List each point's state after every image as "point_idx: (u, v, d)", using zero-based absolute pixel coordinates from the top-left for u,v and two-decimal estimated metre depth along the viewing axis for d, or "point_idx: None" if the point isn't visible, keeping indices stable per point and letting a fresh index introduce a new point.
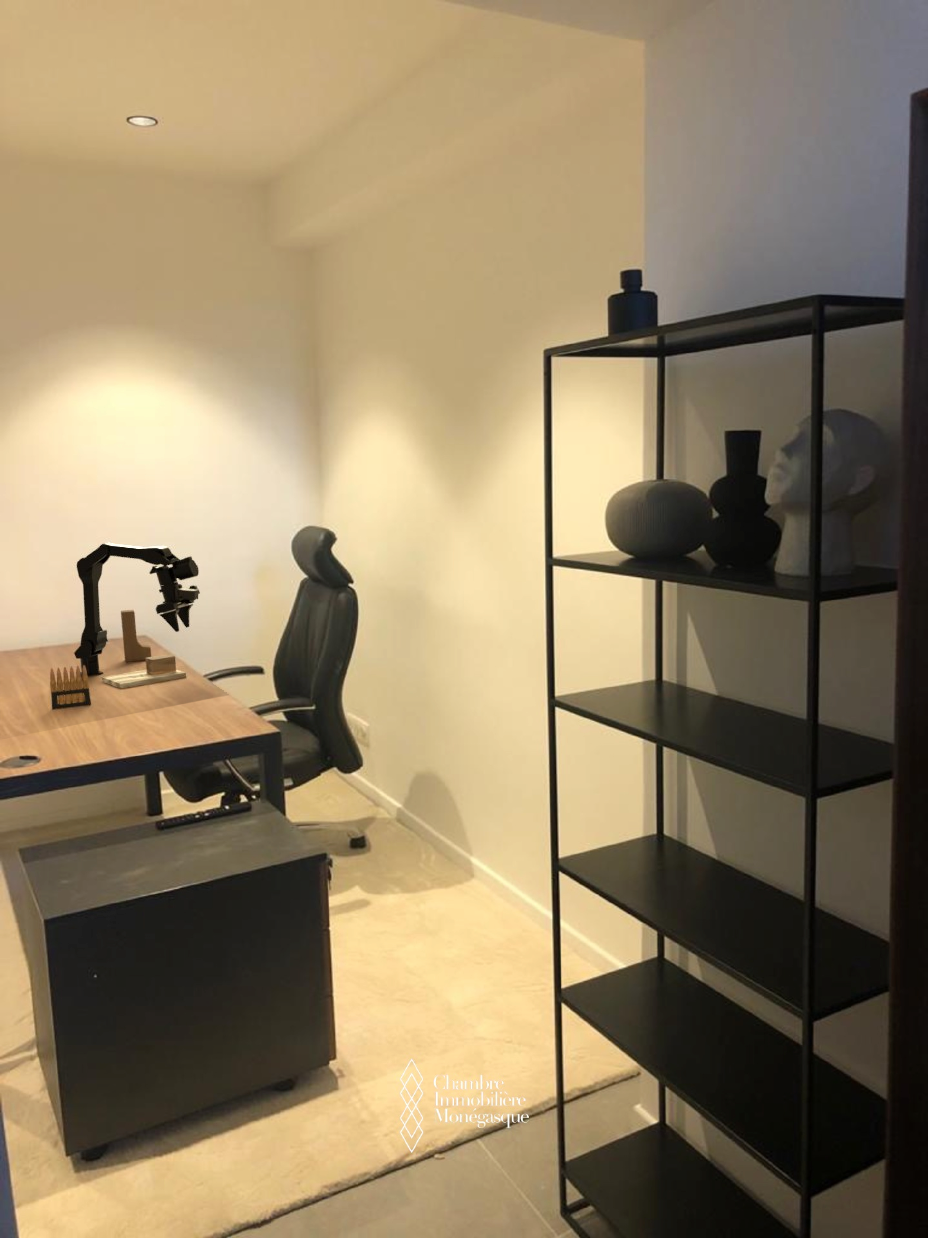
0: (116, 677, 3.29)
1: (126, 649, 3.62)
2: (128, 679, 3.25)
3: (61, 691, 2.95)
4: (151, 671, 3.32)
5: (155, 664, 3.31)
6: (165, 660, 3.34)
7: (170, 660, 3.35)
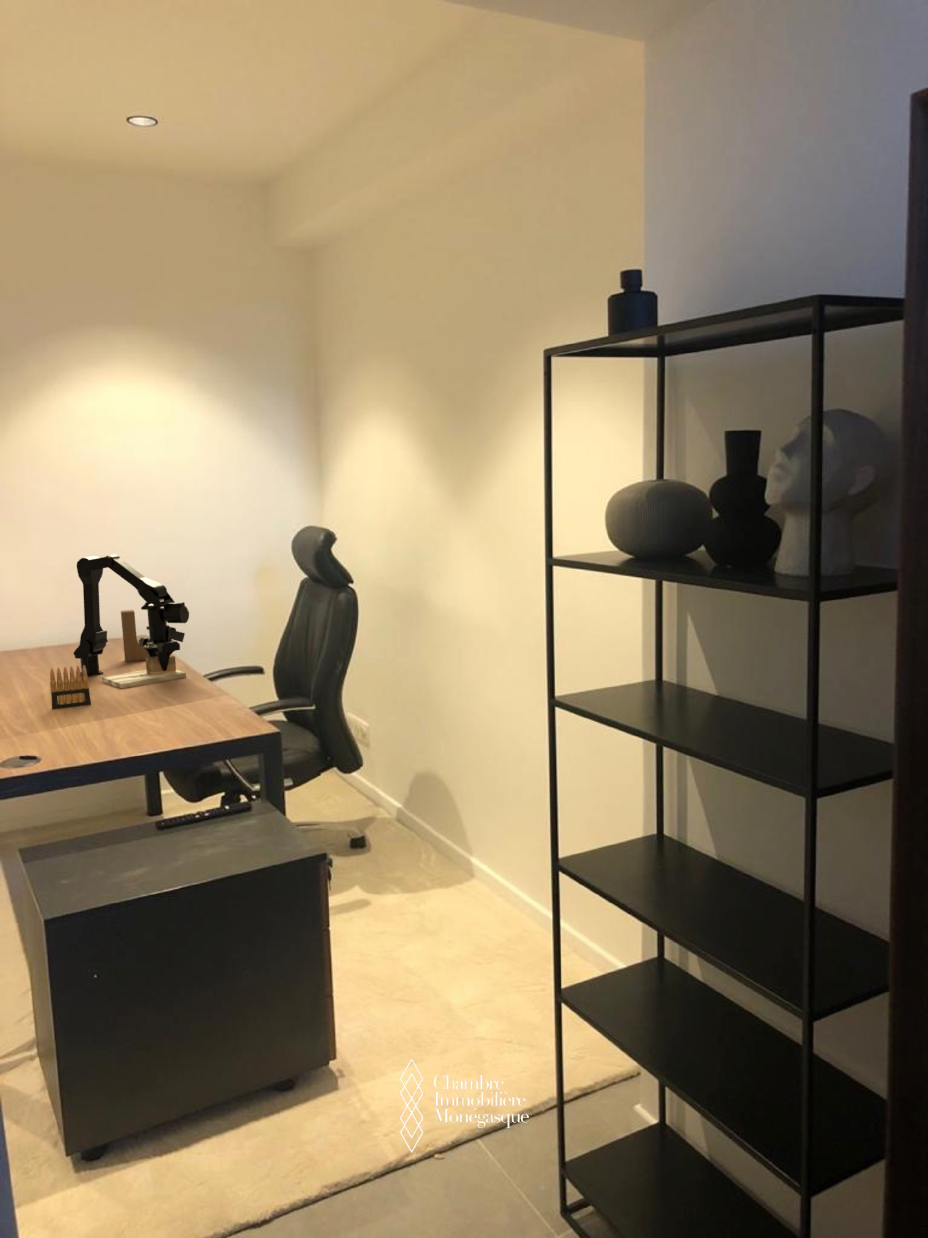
0: (116, 677, 3.29)
1: (126, 649, 3.62)
2: (128, 679, 3.25)
3: (61, 691, 2.95)
4: (151, 671, 3.32)
5: (155, 664, 3.31)
6: None
7: (170, 660, 3.35)
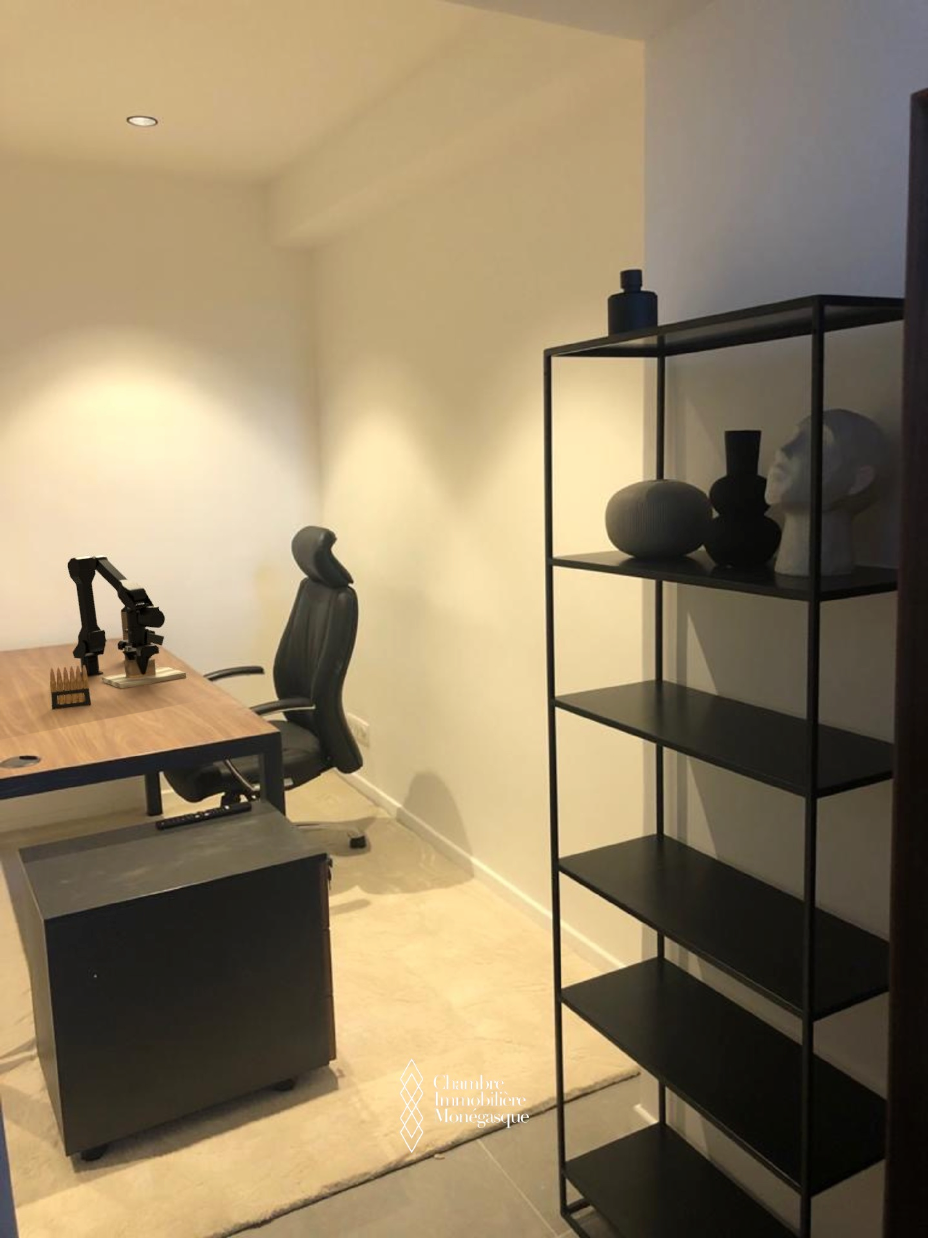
0: (116, 677, 3.29)
1: None
2: (128, 679, 3.25)
3: (61, 691, 2.95)
4: (130, 674, 3.27)
5: (134, 667, 3.27)
6: None
7: (149, 663, 3.30)
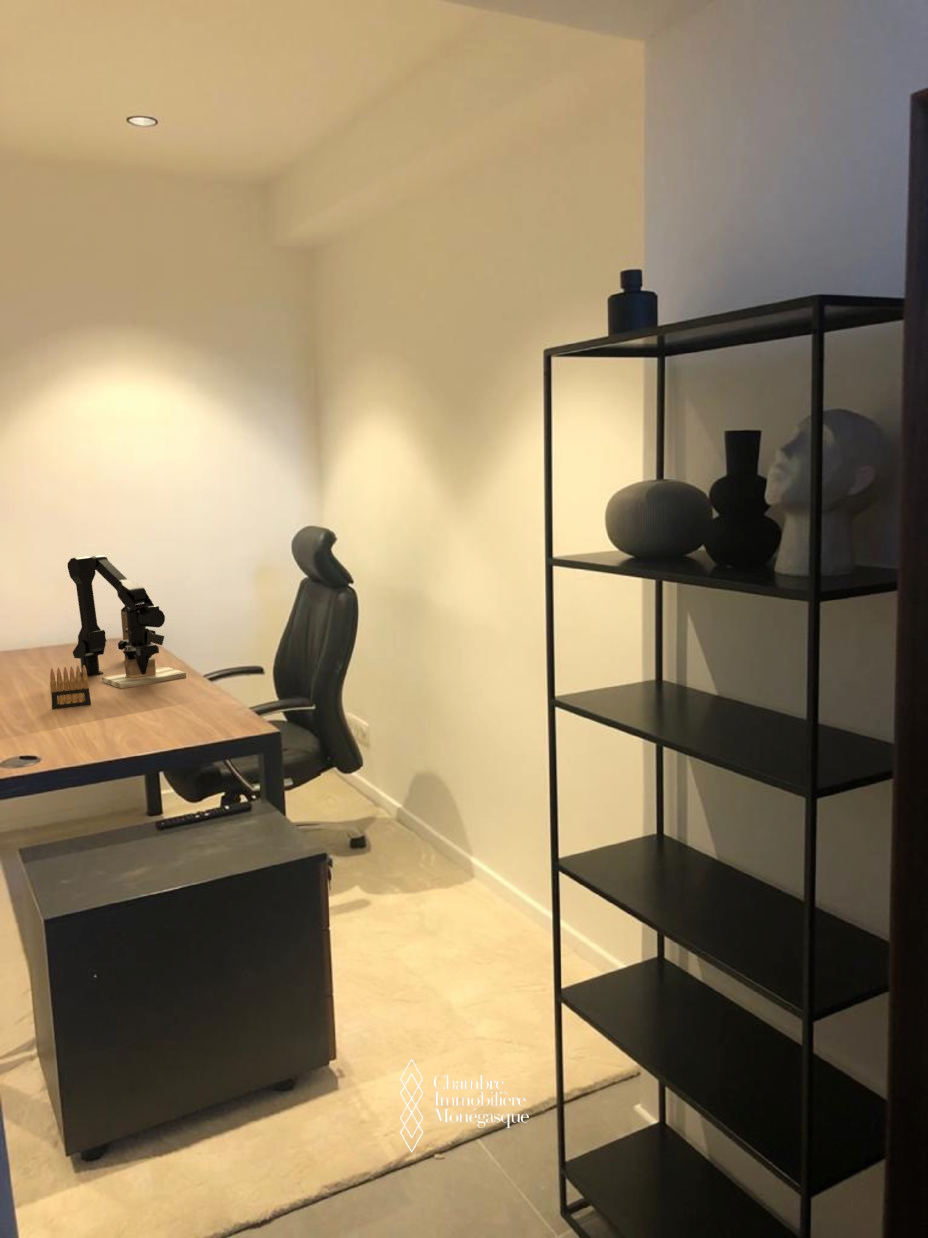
0: (116, 677, 3.29)
1: None
2: (128, 679, 3.25)
3: (61, 691, 2.95)
4: (130, 674, 3.27)
5: (134, 667, 3.27)
6: None
7: (149, 662, 3.30)
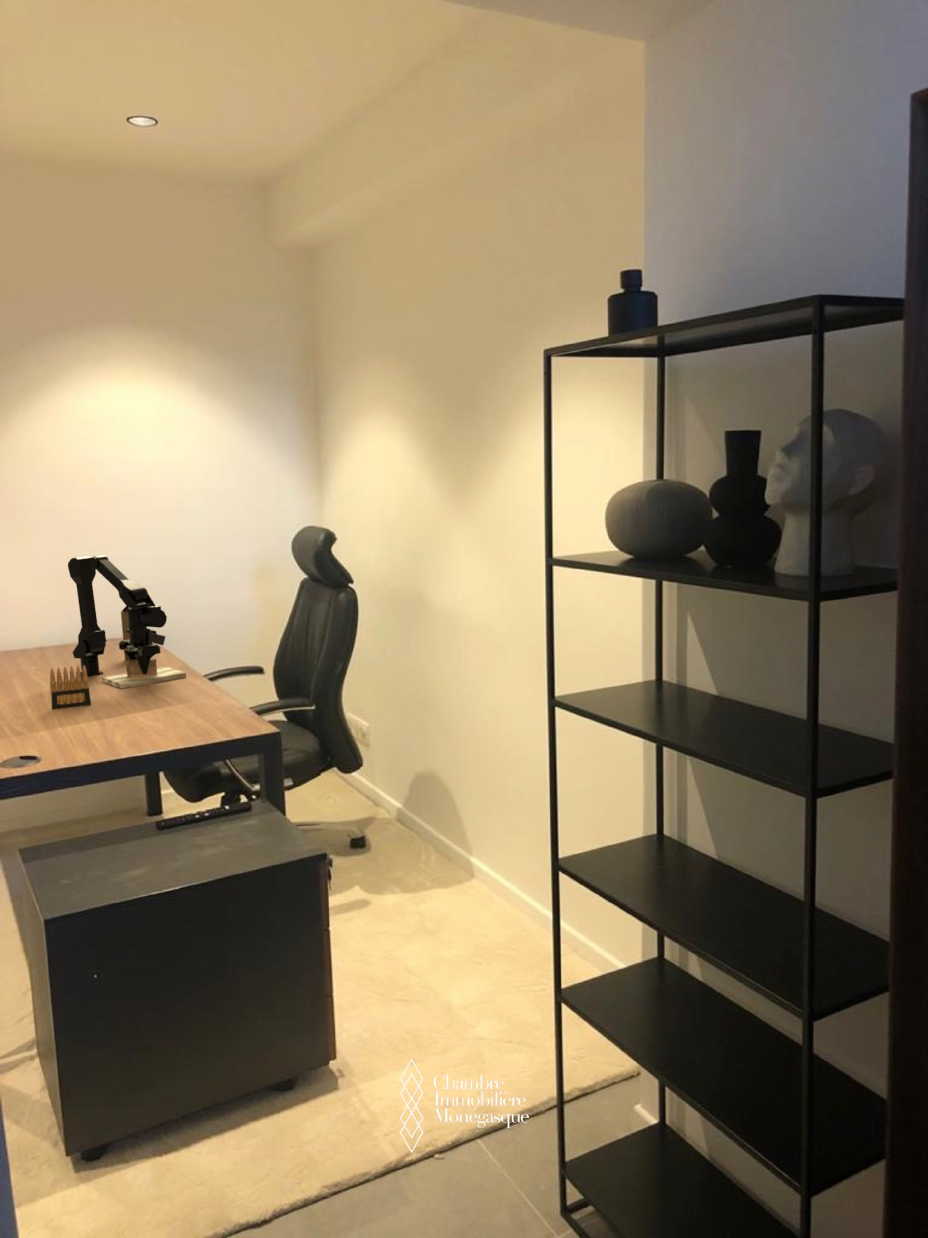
0: (116, 677, 3.29)
1: None
2: (128, 679, 3.25)
3: (61, 691, 2.95)
4: (131, 674, 3.28)
5: (135, 667, 3.27)
6: None
7: (151, 663, 3.30)
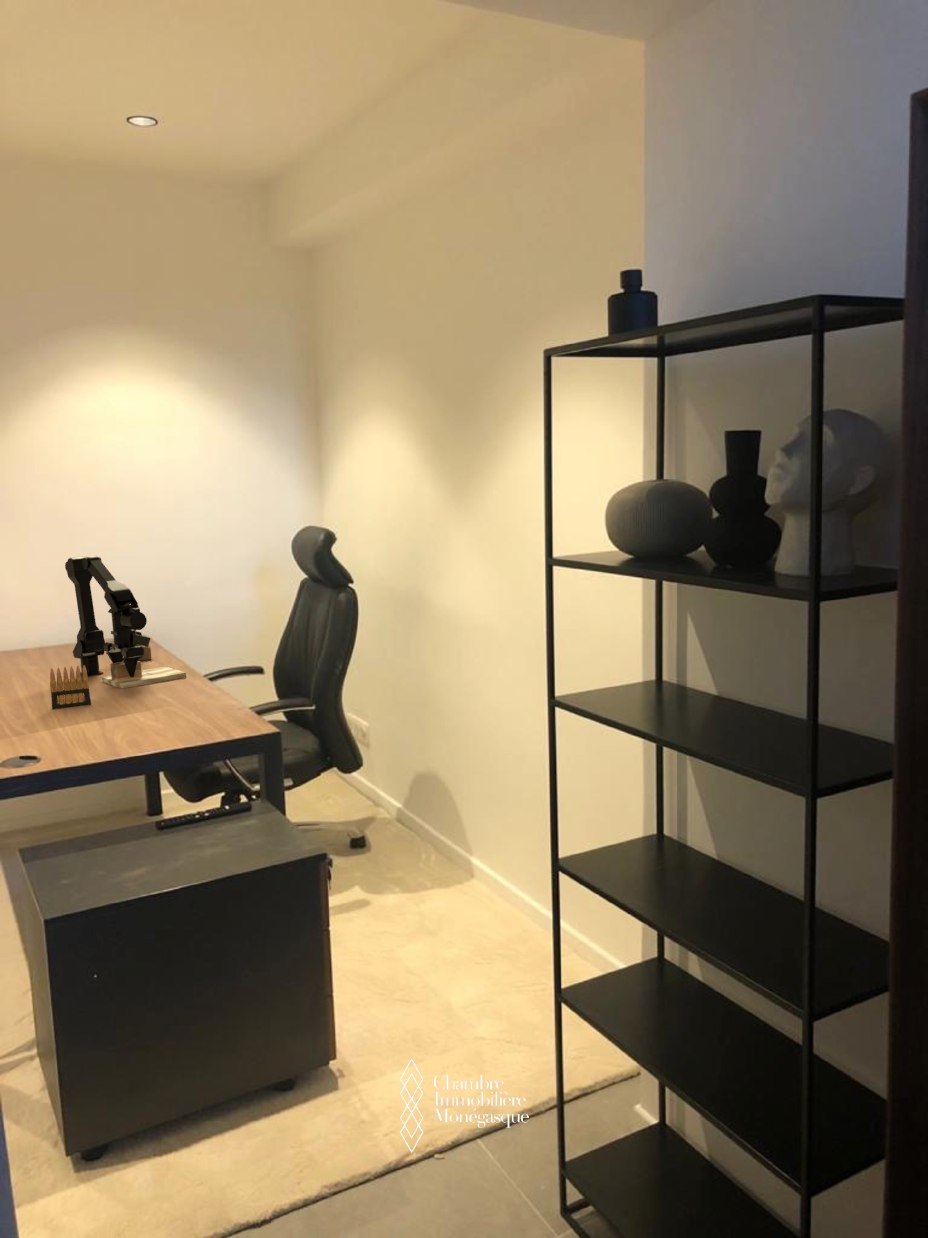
0: None
1: None
2: (128, 679, 3.25)
3: (61, 691, 2.95)
4: (116, 677, 3.24)
5: (119, 670, 3.24)
6: None
7: None
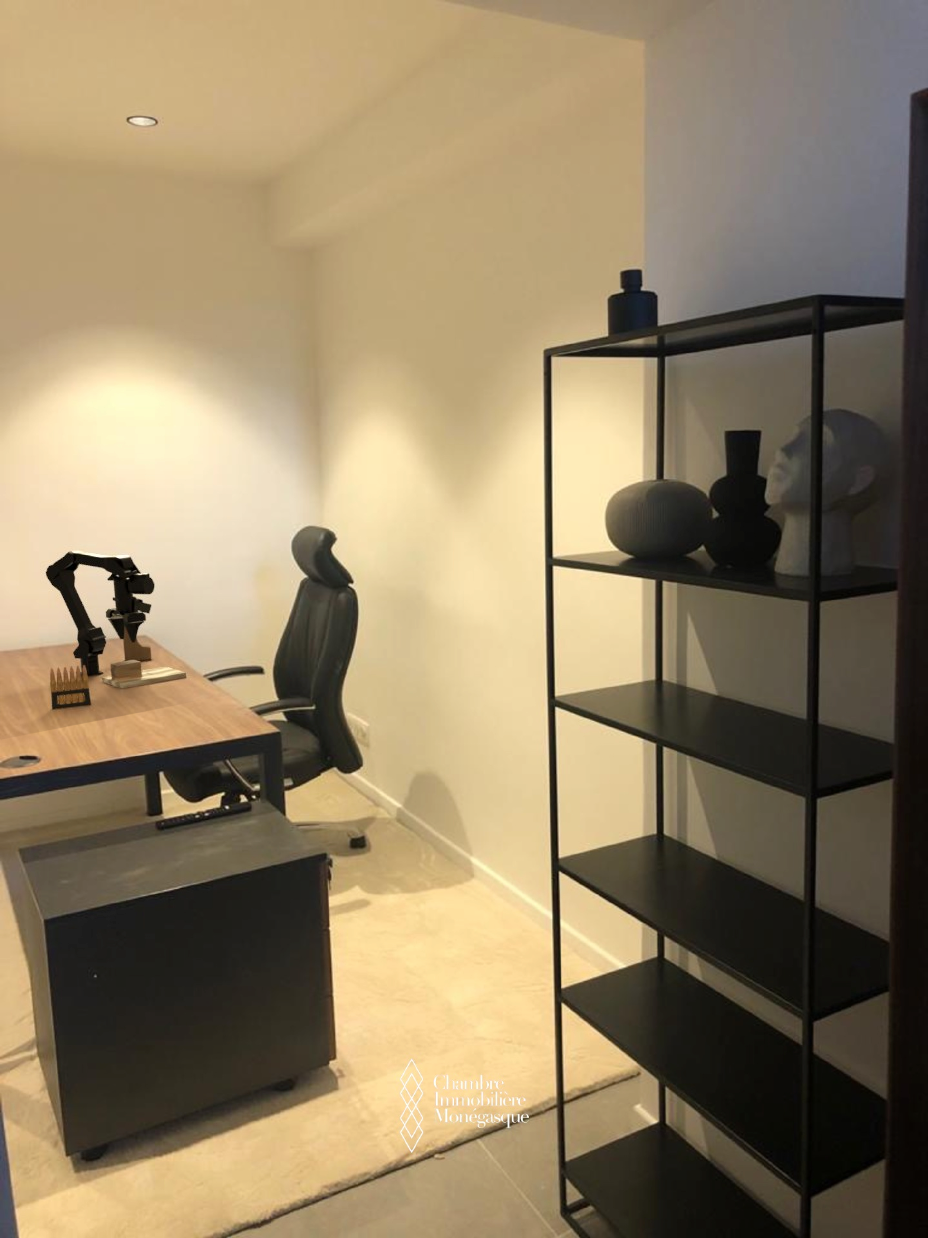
0: None
1: (126, 649, 3.62)
2: (128, 679, 3.25)
3: (61, 691, 2.95)
4: (116, 677, 3.24)
5: (119, 670, 3.24)
6: (130, 665, 3.26)
7: (135, 665, 3.27)
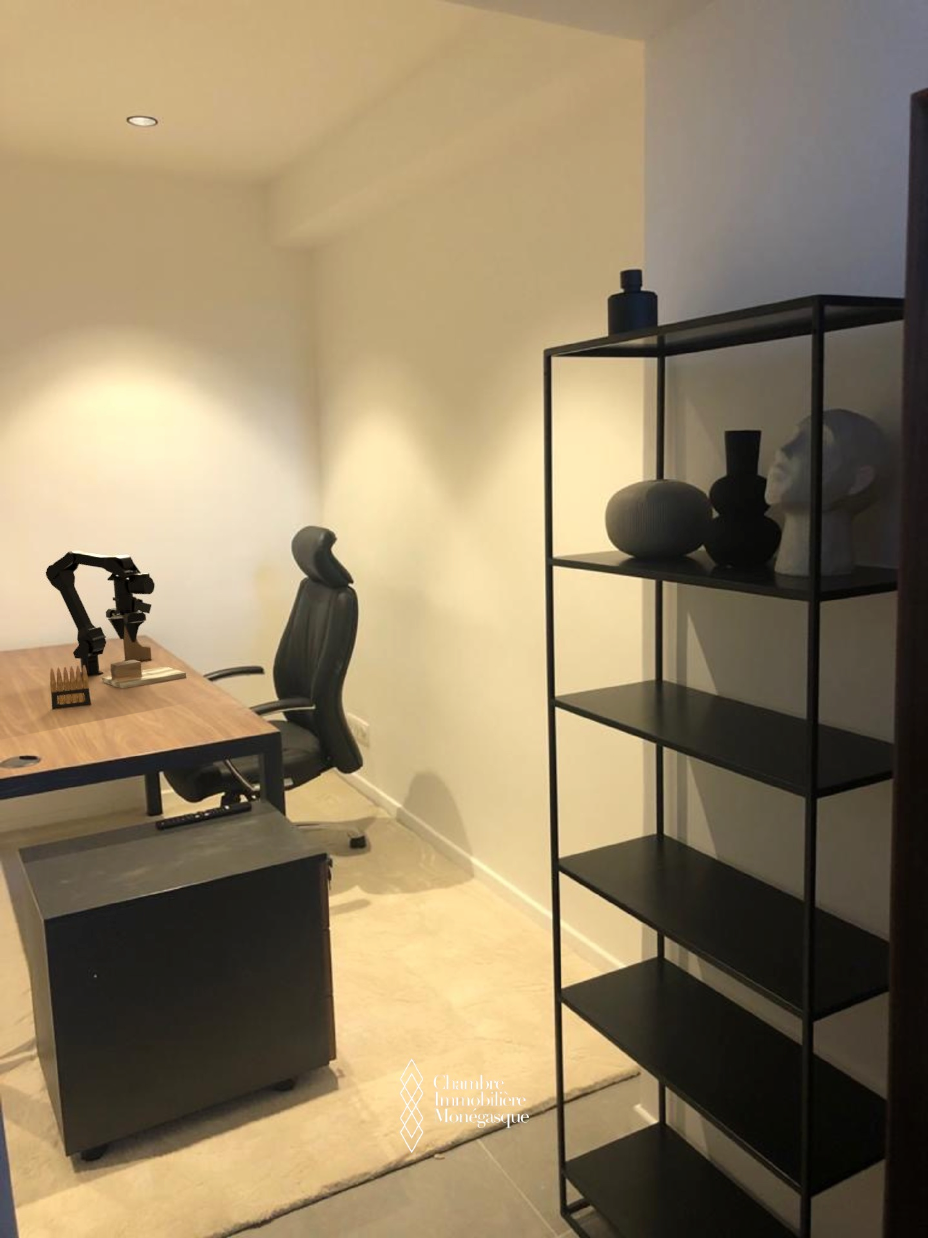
0: None
1: (126, 649, 3.62)
2: (128, 679, 3.25)
3: (61, 691, 2.95)
4: (116, 677, 3.24)
5: (119, 670, 3.24)
6: (130, 665, 3.26)
7: (135, 665, 3.27)
